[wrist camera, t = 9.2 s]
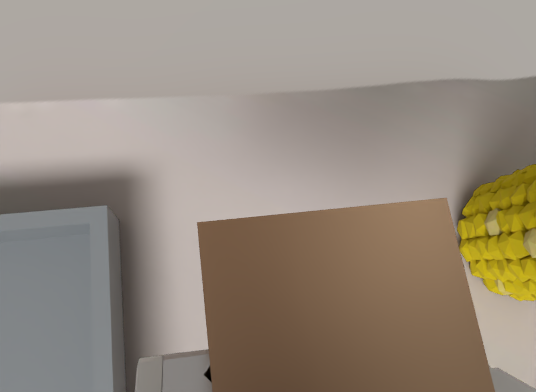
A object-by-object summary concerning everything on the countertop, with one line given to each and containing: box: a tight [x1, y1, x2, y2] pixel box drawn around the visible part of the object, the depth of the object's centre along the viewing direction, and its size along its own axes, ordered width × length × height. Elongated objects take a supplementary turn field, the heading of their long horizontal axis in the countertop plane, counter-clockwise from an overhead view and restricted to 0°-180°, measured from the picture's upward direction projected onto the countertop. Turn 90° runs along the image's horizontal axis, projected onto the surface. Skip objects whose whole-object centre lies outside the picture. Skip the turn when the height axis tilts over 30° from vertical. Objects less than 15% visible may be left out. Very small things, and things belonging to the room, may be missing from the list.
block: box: [197, 198, 495, 392], centre depth 11 cm, size 4×4×10 cm
